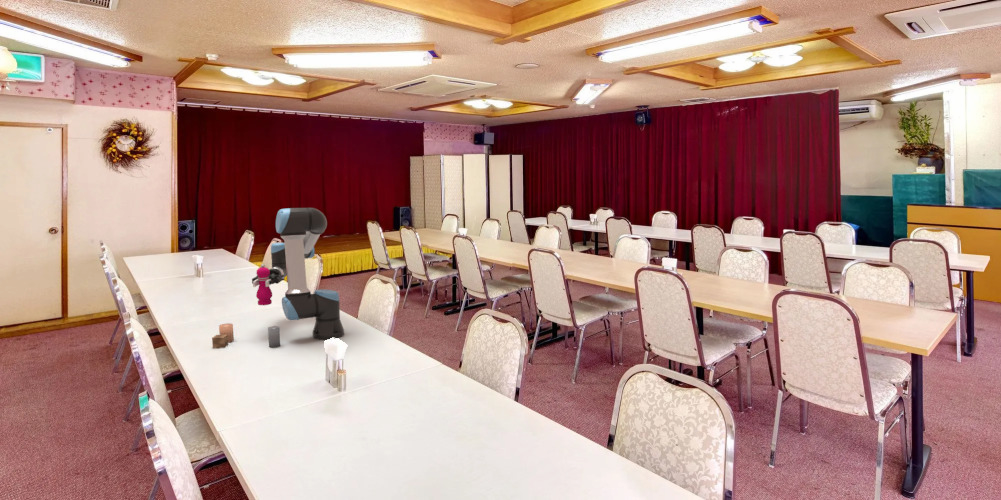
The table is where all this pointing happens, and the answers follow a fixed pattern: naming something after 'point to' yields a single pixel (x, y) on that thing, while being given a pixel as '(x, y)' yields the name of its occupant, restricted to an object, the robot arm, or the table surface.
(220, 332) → the peach round cylinder
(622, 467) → the table surface
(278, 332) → the charcoal salt shaker
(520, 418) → the table surface
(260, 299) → the pepper mill
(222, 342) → the walnut block
